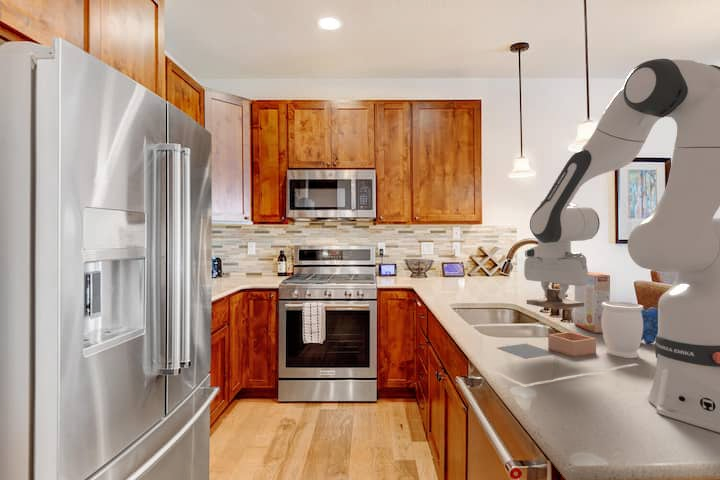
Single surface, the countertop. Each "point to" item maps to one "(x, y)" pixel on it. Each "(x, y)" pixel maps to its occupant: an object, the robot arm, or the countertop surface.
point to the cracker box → (592, 302)
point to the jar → (622, 328)
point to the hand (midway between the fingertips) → (554, 298)
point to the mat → (526, 351)
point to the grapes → (650, 324)
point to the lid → (555, 301)
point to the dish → (572, 344)
